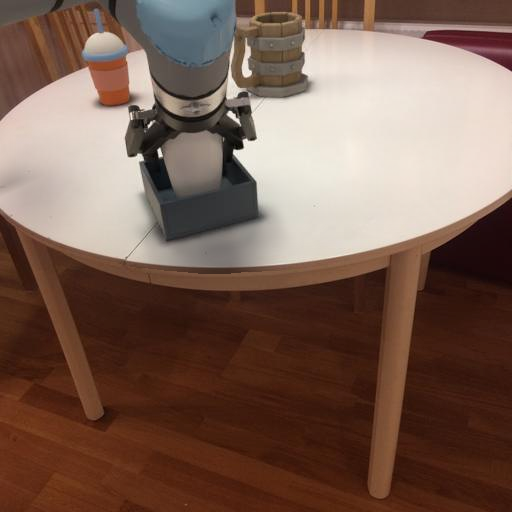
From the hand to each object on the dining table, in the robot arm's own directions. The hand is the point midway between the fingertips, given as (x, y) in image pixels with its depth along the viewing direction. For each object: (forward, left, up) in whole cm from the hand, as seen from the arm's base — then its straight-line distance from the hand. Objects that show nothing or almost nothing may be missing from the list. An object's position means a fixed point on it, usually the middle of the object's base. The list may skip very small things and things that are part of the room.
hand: (192, 158), depth 75 cm
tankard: (+25, +36, -6) cm, 44 cm away
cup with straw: (-5, +46, -6) cm, 47 cm away
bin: (-1, -3, -6) cm, 7 cm away
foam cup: (-1, -3, -5) cm, 6 cm away
